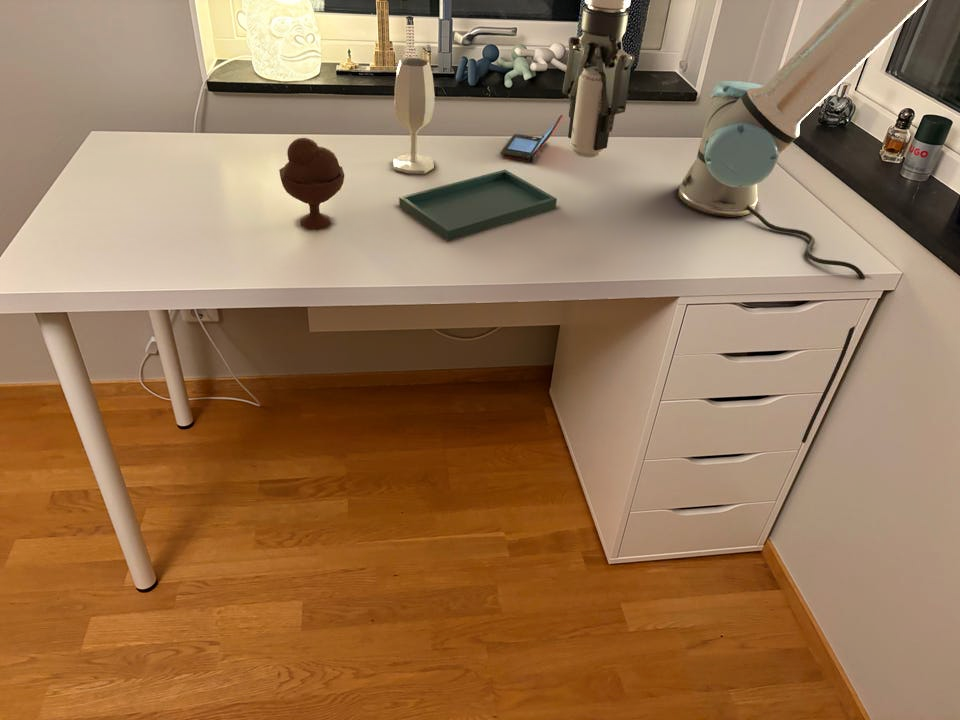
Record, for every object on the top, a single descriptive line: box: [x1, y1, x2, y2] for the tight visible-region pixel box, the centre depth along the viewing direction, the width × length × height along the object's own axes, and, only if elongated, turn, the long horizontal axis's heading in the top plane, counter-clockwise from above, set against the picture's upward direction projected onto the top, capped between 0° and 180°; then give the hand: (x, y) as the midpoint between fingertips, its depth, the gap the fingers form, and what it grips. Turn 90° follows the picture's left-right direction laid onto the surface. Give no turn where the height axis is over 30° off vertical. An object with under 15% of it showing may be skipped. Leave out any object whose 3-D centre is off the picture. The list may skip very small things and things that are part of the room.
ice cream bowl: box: [278, 137, 345, 231], centre depth 130 cm, size 11×11×15 cm
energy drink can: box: [569, 66, 609, 158], centre depth 136 cm, size 6×6×15 cm
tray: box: [398, 169, 558, 242], centre depth 143 cm, size 16×26×2 cm, turn 128°
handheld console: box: [500, 114, 563, 163], centre depth 165 cm, size 12×11×7 cm
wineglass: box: [392, 57, 436, 175], centre depth 151 cm, size 9×9×21 cm
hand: (587, 142), depth 139 cm, fingers closed on energy drink can, 6 cm apart
